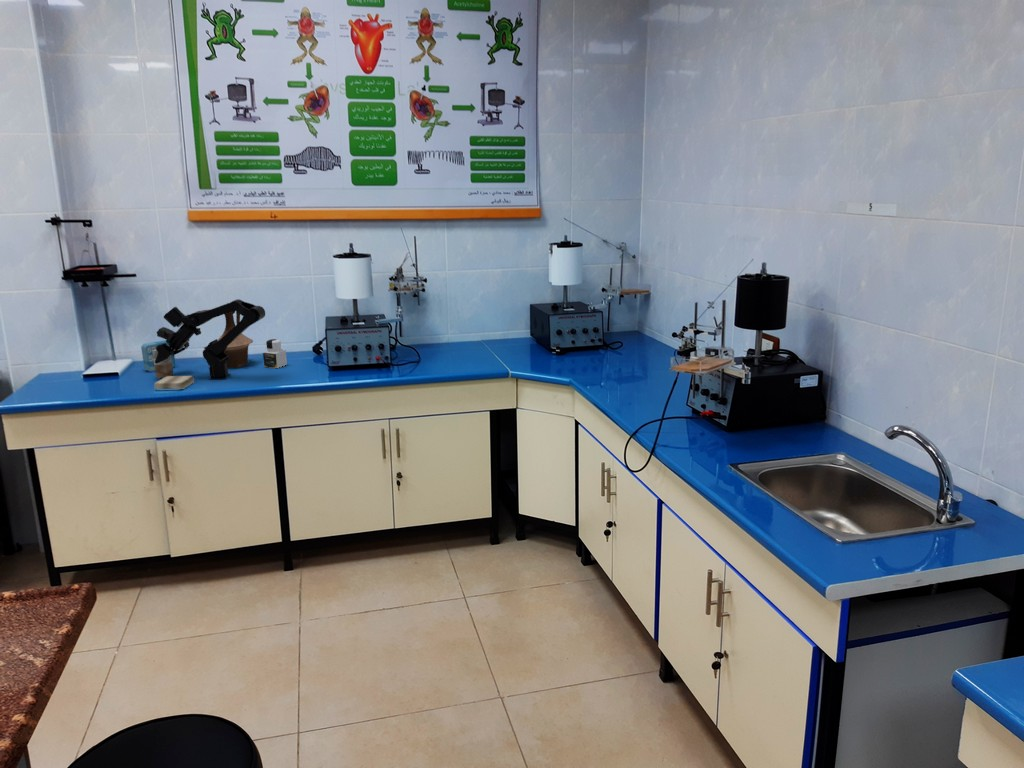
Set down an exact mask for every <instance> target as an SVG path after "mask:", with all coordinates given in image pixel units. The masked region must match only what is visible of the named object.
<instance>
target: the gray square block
mask: <svg viewBox="0 0 1024 768" xmlns="http://www.w3.org/2000/svg"><path fill="white" fill-rule="evenodd" d="M152 352H153V359H154V366H155V371H154V373H155V377H156V378H164V377H166V376H172V375H173V376H174V370H173V368H172V360H171V357H170V358H168V359H166V360H164V361H162V362H159V363H157V364H156V363H155V360H156V357H157V355H158V351H157V350H156V349H155V350H153V351H152Z"/></svg>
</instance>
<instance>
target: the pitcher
mask: <svg viewBox="0 0 1024 768" xmlns="http://www.w3.org/2000/svg"><path fill="white" fill-rule="evenodd" d="M234 314H235V315H236V320H235V318H234ZM223 316H224V318H225V328H224V331H223V332H222V334H221V335H220V337H219V338H218V339H217V340H218V341H219V340H220V339H221V338H222V337H224V336H225V335H226V334H227V333H228V332H229V331H230V330H231V329H232V328H233V327H235V326H236V325H237V324H238V323H239V322H240V321H241V314H239V313H238V312H237V311H235V310H234V311H232V312H229V313H226V314H223ZM235 321H236V323H235ZM253 342H254V340H253V339H252V338H250V337H248V336H247V335H245V334H243V332H242V333H241V334H240V335H239V336H238V337H237V338H236V339H235V340H234V341H232V342H231V343H230V344H229V345H228V346H227V348H226V350H225V351H224V352H225V353H226V354H227V355H228V356H229V358H228V361H226V362H227V366H228V369H231V368H232V369H234V367H236V368H241V367H246V366H247V365H248V364H249V345H250V344H252V343H253Z"/></svg>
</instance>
